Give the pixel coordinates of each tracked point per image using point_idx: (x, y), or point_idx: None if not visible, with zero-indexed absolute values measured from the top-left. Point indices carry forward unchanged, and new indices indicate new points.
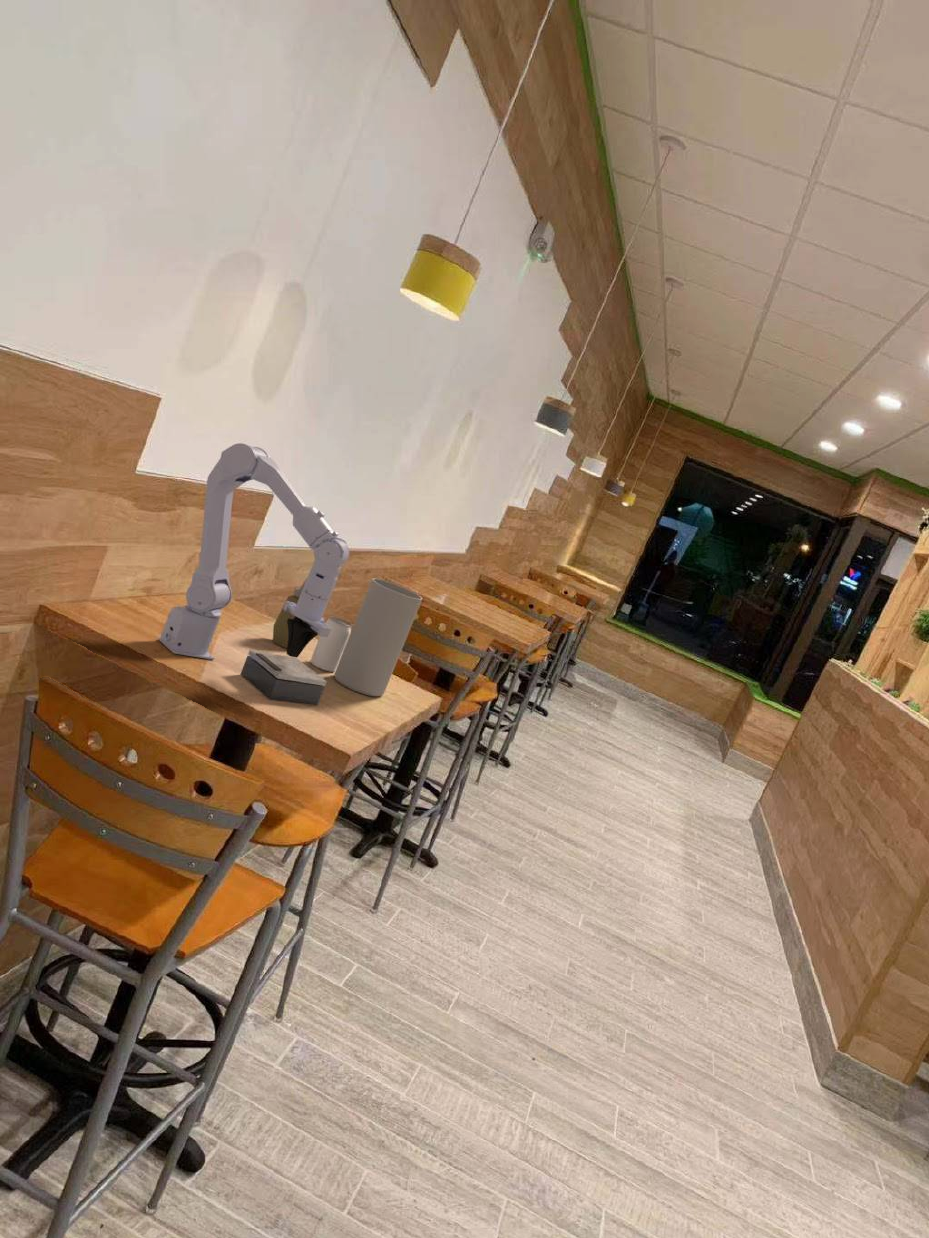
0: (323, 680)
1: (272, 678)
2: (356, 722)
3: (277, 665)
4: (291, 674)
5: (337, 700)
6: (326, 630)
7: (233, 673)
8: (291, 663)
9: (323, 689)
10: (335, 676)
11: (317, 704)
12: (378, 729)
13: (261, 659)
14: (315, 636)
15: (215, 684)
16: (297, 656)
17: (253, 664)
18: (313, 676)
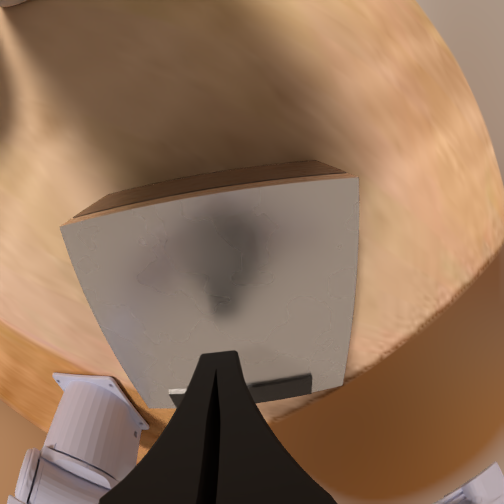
0: (351, 194)
1: None
2: (401, 68)
3: (257, 375)
4: (335, 349)
5: (210, 23)
6: (494, 500)
7: None
8: (173, 300)
9: (340, 170)
10: (18, 3)
11: (316, 161)
12: (417, 21)
13: None
14: (309, 478)
15: (269, 406)
16: (238, 356)
17: None
18: (317, 239)
